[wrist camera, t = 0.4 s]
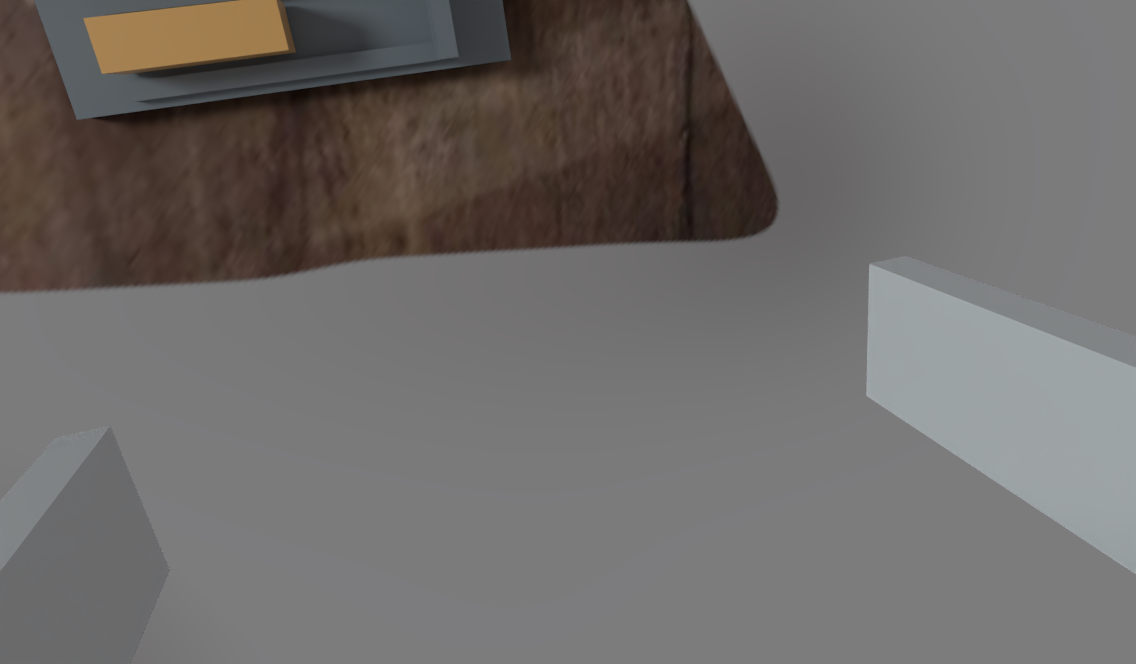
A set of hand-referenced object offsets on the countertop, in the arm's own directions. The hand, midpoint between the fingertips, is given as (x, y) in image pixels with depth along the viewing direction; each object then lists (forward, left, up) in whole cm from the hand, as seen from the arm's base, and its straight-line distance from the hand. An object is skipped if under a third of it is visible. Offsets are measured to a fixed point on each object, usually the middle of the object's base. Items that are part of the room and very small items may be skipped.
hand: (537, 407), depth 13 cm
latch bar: (-8, -8, -25) cm, 27 cm away
